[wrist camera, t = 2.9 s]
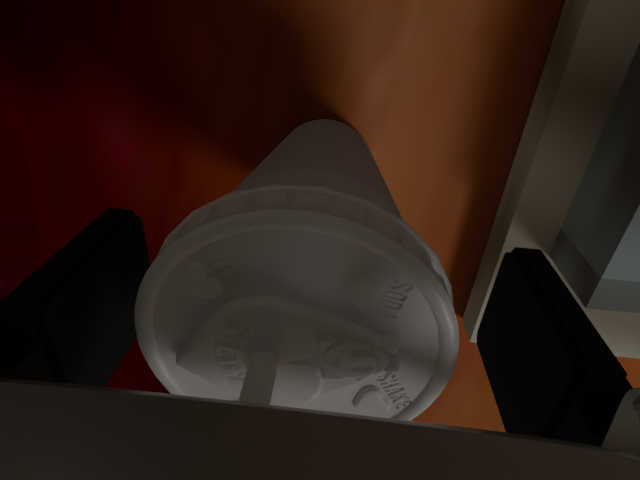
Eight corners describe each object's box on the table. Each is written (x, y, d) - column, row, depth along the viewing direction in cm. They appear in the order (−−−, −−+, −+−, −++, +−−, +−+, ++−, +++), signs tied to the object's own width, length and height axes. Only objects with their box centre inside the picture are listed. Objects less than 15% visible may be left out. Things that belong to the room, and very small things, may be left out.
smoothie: (227, 88, 15) (-247, 495, 3) (409, 71, 14) (667, 515, 2) (259, 240, 18) (83, 717, 7) (408, 232, 18) (516, 754, 6)
